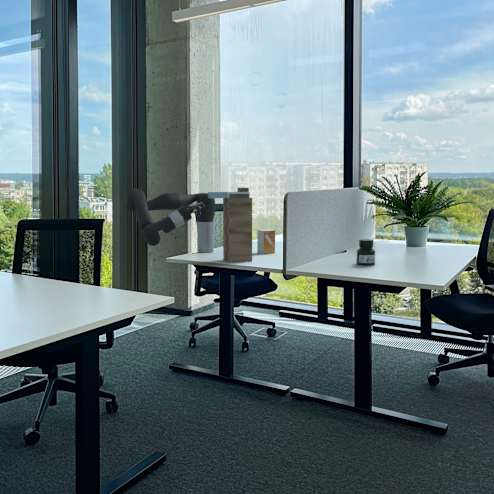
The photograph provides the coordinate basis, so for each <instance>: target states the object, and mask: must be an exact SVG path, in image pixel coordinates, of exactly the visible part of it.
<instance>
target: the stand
mask: <svg viewBox="0 0 494 494" xmlns="http://www.w3.org/2000/svg"><path fill="white" fill-rule="evenodd" d="M222 219H223V220H222V221H223V222H222V227H223V228H222V229H223V231H222V233H223V236H222V237H223V238H222V239H223V241H222V242H223V243H222V246H223V247H222V249H223V251H222V253H223V258H222V259H223V260H224V261H225V262H228V263H230V262H232V263H244V262H245V261H248V262H253V197H250V198H249V194H230V198H222Z"/></svg>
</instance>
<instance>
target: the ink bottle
mask: <svg viewBox="0 0 494 494" xmlns="http://www.w3.org/2000/svg"><path fill="white" fill-rule="evenodd" d="M356 264H357V265H361V266H373V265H375V264H376V250H374V239H371V238H361V239H358V249H357V250H356Z"/></svg>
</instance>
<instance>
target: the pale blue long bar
mask: <svg viewBox="0 0 494 494" xmlns="http://www.w3.org/2000/svg"><path fill="white" fill-rule="evenodd" d="M207 193H208V198H214V199H223V198H230V194H249V198H251V197H250V196H251V195H250V194H251V192H250V188H249V187H237V190H236V191H208V192H207Z"/></svg>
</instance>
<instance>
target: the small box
mask: <svg viewBox="0 0 494 494" xmlns="http://www.w3.org/2000/svg"><path fill="white" fill-rule="evenodd" d="M256 238H257V243H256V244H257V245H256V247H257V248H256V249H257V250H256V251H257V252H256V253H257V254H261V255H269V254H276V230H275V229H257V237H256Z"/></svg>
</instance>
